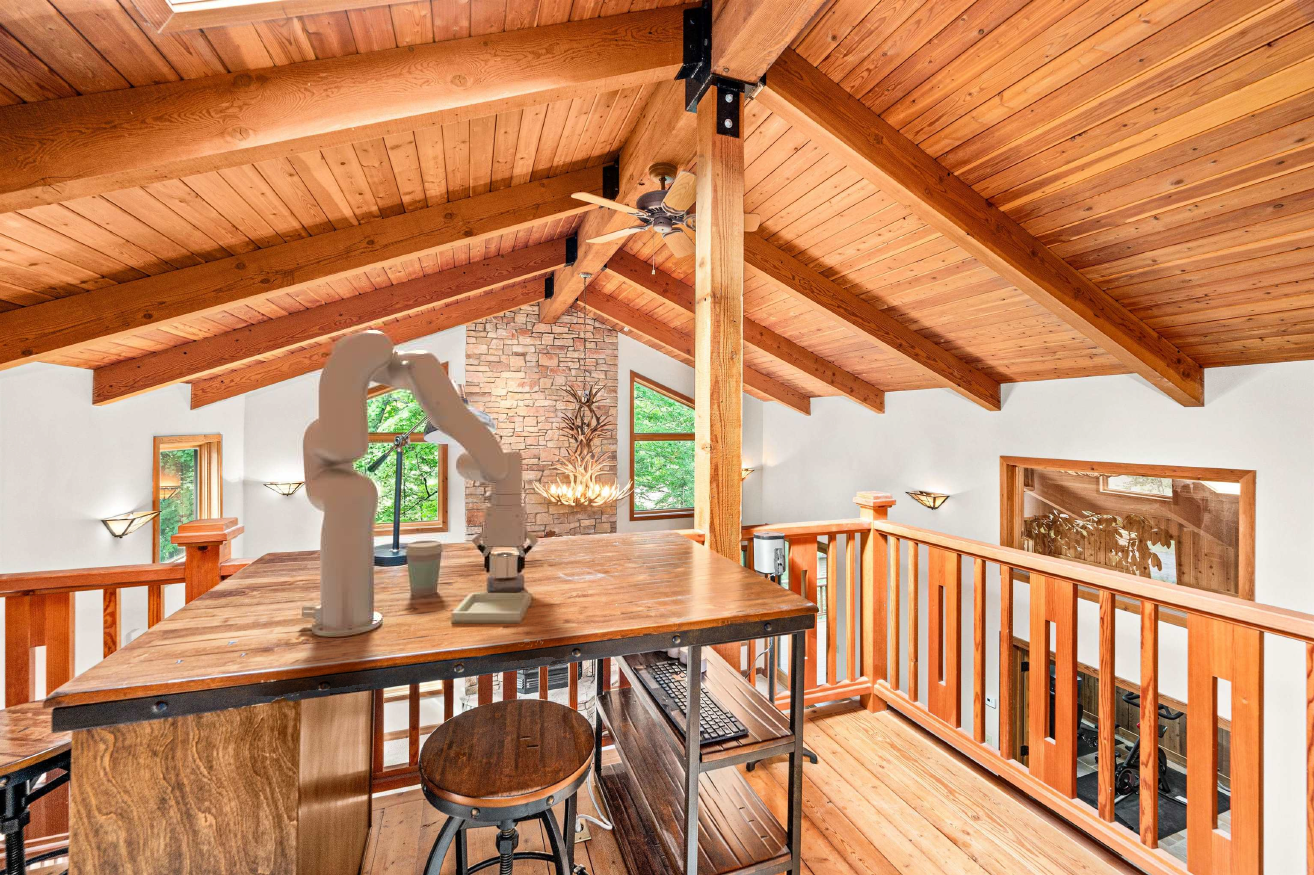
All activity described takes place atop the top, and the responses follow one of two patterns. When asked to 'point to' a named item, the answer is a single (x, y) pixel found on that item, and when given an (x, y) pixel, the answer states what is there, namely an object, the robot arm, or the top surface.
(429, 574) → the coffee cup
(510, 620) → the tray
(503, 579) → the grey peg stand
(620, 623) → the top surface
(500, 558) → the collar
